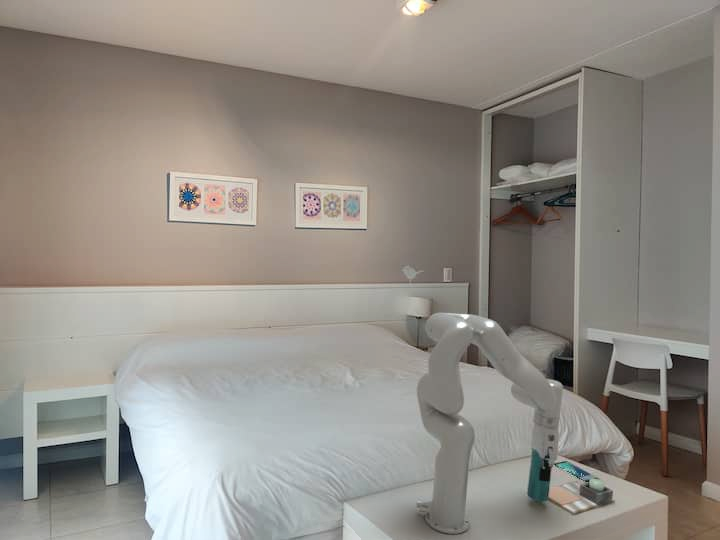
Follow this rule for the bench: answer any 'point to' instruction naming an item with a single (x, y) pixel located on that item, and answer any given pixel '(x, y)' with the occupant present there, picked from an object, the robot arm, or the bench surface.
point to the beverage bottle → (537, 480)
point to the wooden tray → (585, 497)
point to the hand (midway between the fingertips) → (539, 474)
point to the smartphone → (578, 471)
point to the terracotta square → (561, 496)
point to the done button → (596, 485)
